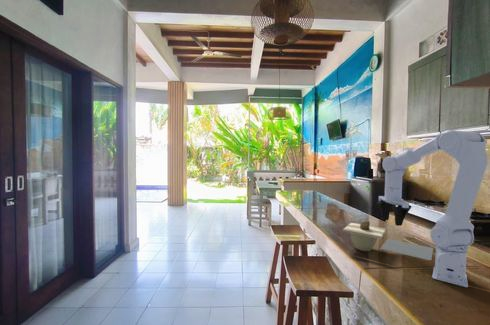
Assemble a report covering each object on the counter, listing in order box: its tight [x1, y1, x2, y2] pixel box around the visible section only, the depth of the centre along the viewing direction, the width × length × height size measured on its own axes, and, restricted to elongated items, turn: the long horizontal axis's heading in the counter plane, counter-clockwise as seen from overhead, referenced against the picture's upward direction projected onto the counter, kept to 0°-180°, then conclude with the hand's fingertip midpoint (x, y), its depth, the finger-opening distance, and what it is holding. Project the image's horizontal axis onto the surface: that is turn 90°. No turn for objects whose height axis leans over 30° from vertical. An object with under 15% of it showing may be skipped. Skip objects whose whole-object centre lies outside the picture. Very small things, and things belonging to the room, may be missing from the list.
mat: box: [379, 238, 434, 261], centre depth 99 cm, size 16×16×1 cm
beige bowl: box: [349, 233, 378, 252], centre depth 98 cm, size 10×10×7 cm
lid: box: [342, 219, 387, 240], centre depth 98 cm, size 13×13×4 cm
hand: (391, 222), depth 99 cm, fingers open, 7 cm apart
